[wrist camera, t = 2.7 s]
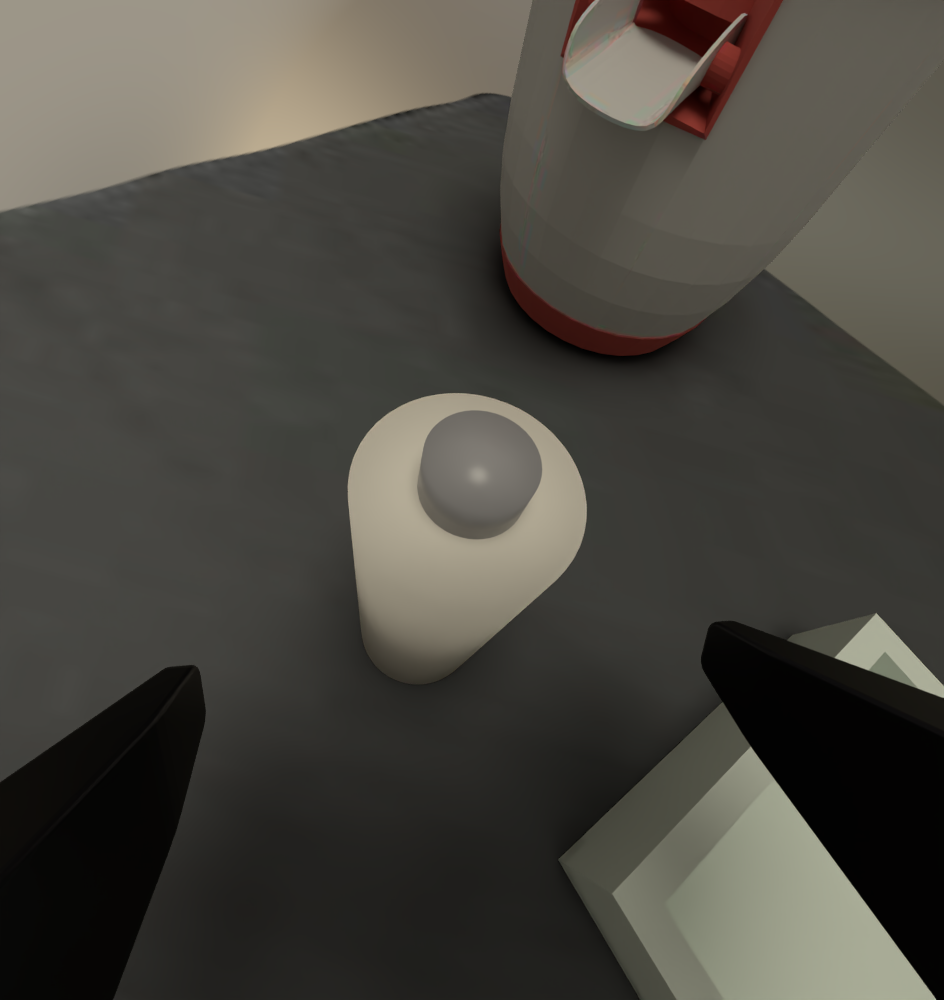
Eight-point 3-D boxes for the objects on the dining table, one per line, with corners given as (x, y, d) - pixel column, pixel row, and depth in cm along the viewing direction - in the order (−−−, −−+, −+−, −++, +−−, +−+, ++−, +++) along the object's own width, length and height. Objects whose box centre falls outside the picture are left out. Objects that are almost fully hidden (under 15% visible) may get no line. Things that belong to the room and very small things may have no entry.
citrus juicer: (396, 290, 26) (444, -606, 9) (556, 185, 34) (747, -390, 17) (627, 457, 24) (1317, -315, 6) (741, 302, 32) (1184, -227, 15)
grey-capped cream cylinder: (397, 709, 17) (440, 650, 6) (340, 604, 18) (295, 407, 7) (496, 643, 18) (660, 508, 8) (437, 551, 20) (513, 331, 9)
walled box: (901, 1444, 11) (1135, 1754, 8) (557, 859, 15) (612, 893, 12) (1080, 974, 17) (1266, 1035, 13) (792, 635, 21) (876, 613, 17)
